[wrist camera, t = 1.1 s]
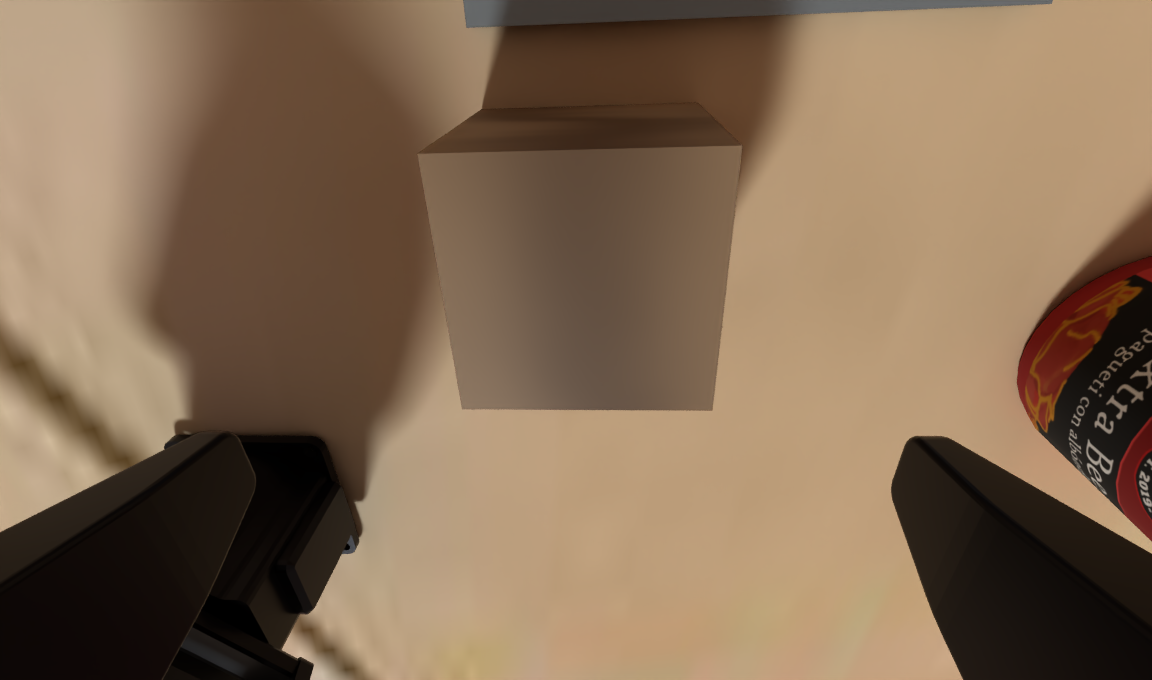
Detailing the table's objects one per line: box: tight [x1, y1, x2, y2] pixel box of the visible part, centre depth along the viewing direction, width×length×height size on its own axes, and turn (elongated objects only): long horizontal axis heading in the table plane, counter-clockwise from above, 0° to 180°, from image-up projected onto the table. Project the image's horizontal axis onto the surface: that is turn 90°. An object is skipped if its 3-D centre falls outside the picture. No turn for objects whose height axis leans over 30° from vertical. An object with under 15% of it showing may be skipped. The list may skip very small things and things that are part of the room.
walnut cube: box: [417, 103, 742, 411], centre depth 14 cm, size 6×6×6 cm
